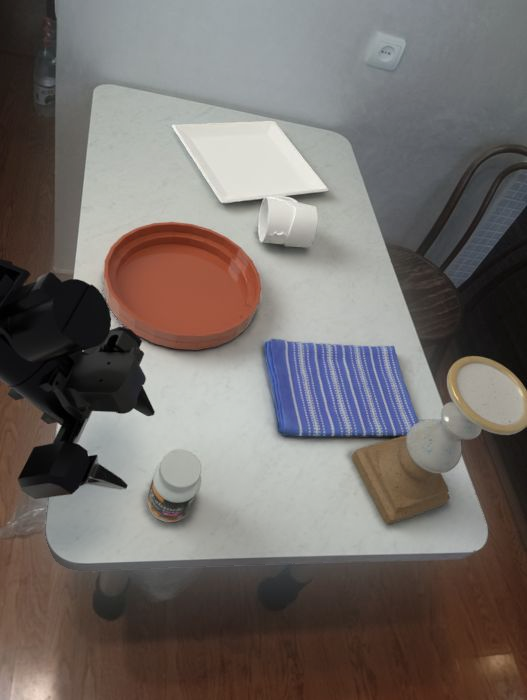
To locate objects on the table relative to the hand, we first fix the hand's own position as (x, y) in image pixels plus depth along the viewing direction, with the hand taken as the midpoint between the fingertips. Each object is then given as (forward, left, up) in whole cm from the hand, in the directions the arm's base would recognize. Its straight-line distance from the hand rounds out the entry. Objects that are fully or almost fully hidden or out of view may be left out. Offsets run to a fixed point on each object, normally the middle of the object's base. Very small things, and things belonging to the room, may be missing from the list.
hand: (138, 449), depth 59 cm
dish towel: (+32, +16, -12) cm, 37 cm away
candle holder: (+38, +1, -12) cm, 39 cm away
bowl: (+8, +35, -11) cm, 37 cm away
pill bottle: (+5, -2, -12) cm, 13 cm away
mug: (+28, +52, -12) cm, 60 cm away
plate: (+24, +74, -12) cm, 78 cm away
